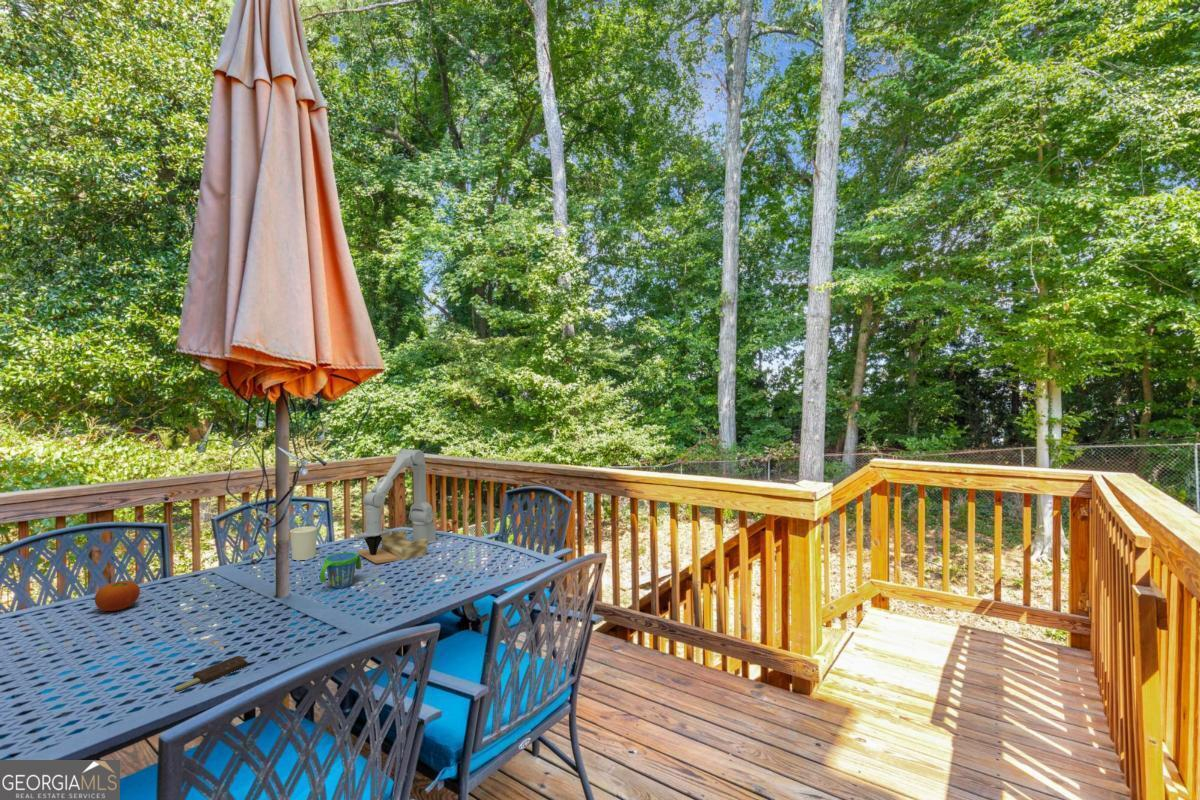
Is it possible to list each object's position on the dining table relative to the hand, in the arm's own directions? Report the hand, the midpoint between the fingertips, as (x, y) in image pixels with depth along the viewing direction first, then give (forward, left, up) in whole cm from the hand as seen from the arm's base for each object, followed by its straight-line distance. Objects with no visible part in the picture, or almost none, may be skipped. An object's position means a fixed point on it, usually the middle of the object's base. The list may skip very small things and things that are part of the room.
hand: (373, 554), depth 215 cm
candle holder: (+20, -21, -2) cm, 29 cm away
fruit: (+77, -6, -2) cm, 77 cm away
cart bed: (-13, 0, -2) cm, 13 cm away
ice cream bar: (+63, +62, -3) cm, 89 cm away
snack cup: (+20, +21, -2) cm, 29 cm away
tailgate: (-6, 0, -2) cm, 7 cm away
